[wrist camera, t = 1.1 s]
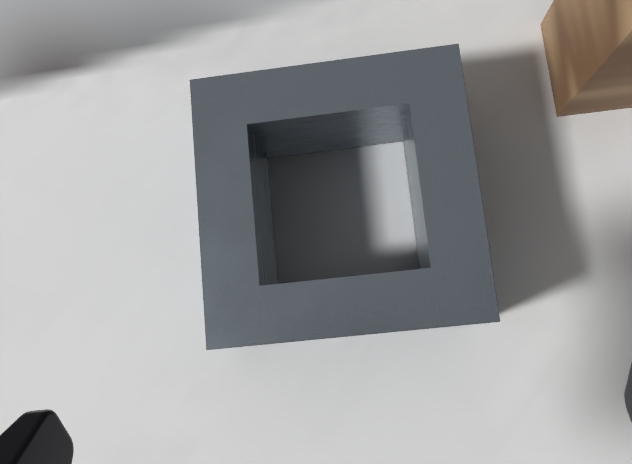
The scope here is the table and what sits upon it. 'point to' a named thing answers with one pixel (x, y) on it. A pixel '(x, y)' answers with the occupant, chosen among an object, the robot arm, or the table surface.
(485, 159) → the table surface
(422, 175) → the square collar
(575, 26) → the walnut peg
